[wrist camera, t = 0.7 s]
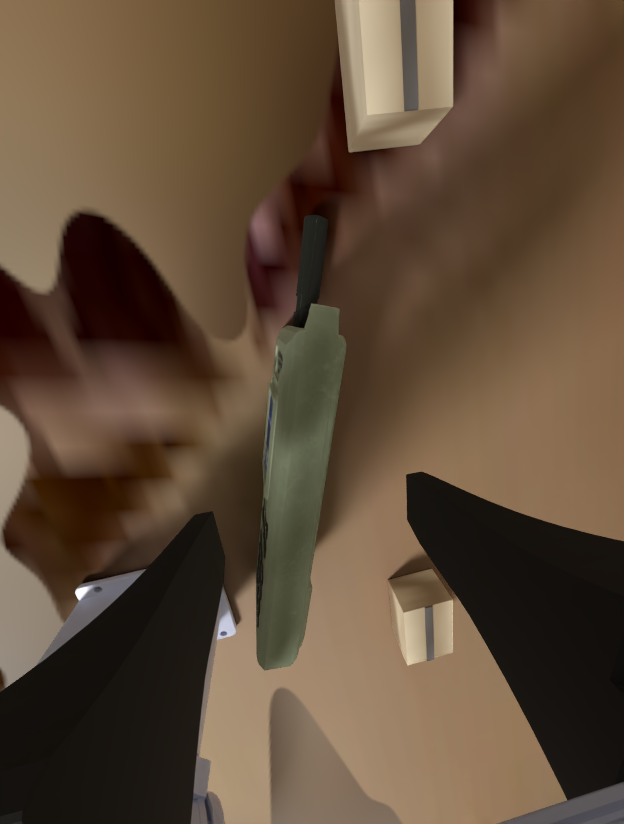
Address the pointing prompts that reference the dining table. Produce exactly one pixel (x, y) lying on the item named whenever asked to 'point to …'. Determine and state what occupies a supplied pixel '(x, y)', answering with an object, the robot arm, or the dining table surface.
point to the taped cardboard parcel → (386, 128)
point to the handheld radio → (296, 457)
